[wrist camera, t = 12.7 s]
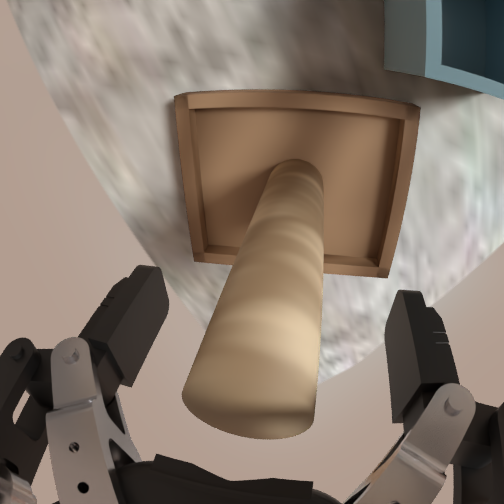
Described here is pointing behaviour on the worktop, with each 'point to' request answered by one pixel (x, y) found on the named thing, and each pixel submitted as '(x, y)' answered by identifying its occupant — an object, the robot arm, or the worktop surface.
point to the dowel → (267, 317)
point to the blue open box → (447, 41)
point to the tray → (305, 148)
